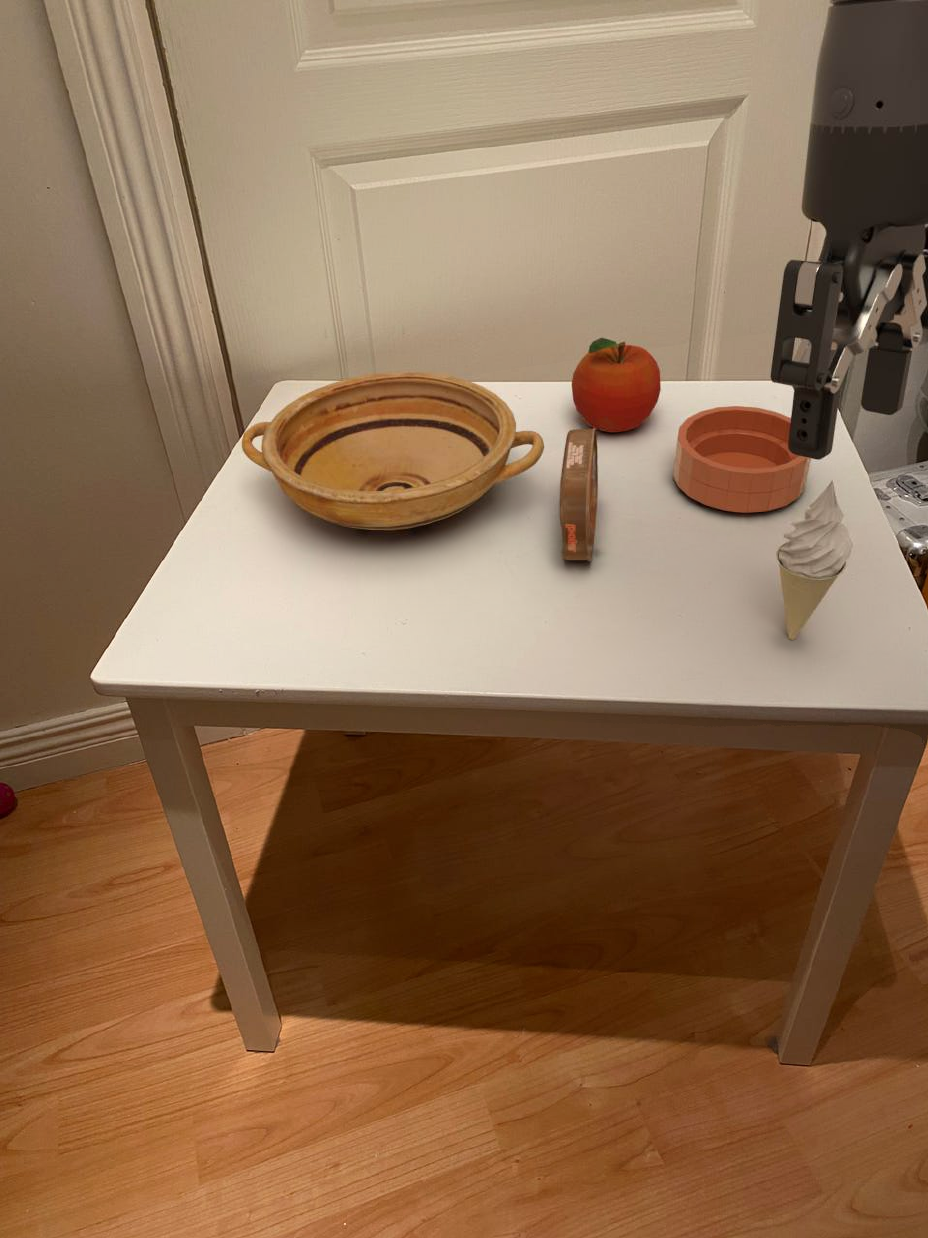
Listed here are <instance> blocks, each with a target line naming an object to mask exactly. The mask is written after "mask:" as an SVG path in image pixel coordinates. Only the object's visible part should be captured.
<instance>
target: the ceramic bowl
mask: <svg viewBox="0 0 928 1238" xmlns="http://www.w3.org/2000/svg"><path fill="white" fill-rule="evenodd" d="M261 436H262V437H261ZM258 437H261V445H260V446H261V447H260V449H261V451H260V450H259V449H258V448H256V447H255V446H254V444H253V441H254V439H255V438H258ZM523 445H524V446H525V445H530V446H531V449H530V450H529V452H527V454H525V455H524V456H523V457H521V458H520V459H518V460H515V461H514V462H511V463H508V464H507V462H508V459H509V456H510V453H511V450H513V449H515V448H517V447H520V446H523ZM241 449H242V452H243V453H244V455H245V456H246V458H247V459H249V460H250V461H251V462H252V463H254V464H256V465H258V466H259V467H261V468H263V469H264V470H266V471H269V472H270V473H272V475H273V476H274V478H275V480H276V482H277V483H278V485H279V486H280V488H281V490H282V491H283V492H284V493H285V494H286V496H287V497H288V498H289V499H291V500H292V501H293V502H294V503H295V504H296V505H297V506H298V507H300V508H301V509H303V510H304V511H306V512H308V513H310V514H312V515H313V516H315V517H317V518H319V519H321V520H324V521H326V522H329V523H332V524H335V525H339V526H342V527H346V528H351V529H358V530H359V529H360V530H370V531H400V530H409V529H414V528H417V527H419V526H425V525H429V524H431V523H434V522H438V521H440V520H444V519H447V518H449V517H451V516H454V515H456V514H457V513H460V512H462V511H463V510H466V509H467V508H468V507H470V506H471V505H473V504H475V502H477V501H478V500H479V499H481V498H482V496H484V495H485V494H486V493H487V492H489V491H490V489H491V488H492V487H493V486H494V485H495V484H498V483H502V482H504V481H506V480H509V479H511V478H513V477H516V476H518V475H520V474H522V473H524V472H526V471H527V470H529V469H531V468H532V467H534V466H535V465H536V464H537V463H538V461H539V460H540V458H541V457H542V455H543V453H544V450H545V442H544V439H543V437H542V436H541V435H540V433H538V432H537V431H533V430H521V431H517V422H516V419H515V414H514V413H513V411H512V410H511V408H510V407H509V406H508V404H507V403H506V402H505V401H504V400H503V399H502V398H501V397H499V396H498V395H497V394H496V393H495V392H493V391H491V390H489V389H488V388H486V387H484V386H483V385H480V384H477V383H475V382H473V381H471V380H466V379H463V378H461V377H460V378H459V377H456V376H451V375H446V374H440V373H435V372H434V373H433V372H421V371H420V372H419V371H393V372H392V371H391V372H382V373H381V372H380V373H372V374H367V375H361V376H355V377H351V378H347V379H343V380H339V381H335V382H332V383H329V384H326V385H324V386H321V387H318V388H316V389H314V390H312V391H310V392H308V393H305V394H303V395H301V396H300V397H298V398H296V399H295V400H293V401H292V402H290V403H288V404H287V405H286V406H284V408H282V409H281V410H280V411H279V412H278V413H277V414H275V416H274V417H273V418H272V419H271V421H262V422H261V421H260V422H258V423H255V424H253V425H252V426H250V427H249V428H248V429H246V430H245V432H244V433H243V435H242V439H241Z"/></svg>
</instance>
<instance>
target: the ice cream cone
mask: <svg viewBox="0 0 928 1238" xmlns="http://www.w3.org/2000/svg"><path fill="white" fill-rule="evenodd" d="M808 507H809V508H807V510H805V511H804V520H800V521H792V522H790V525H791V526H792V527H794V528H795V529H794V530H793V531H792V532H784V533H783V534H782V535H783V538H785V539H786V540H788V541H786V542H784V543H783V544H781V545H780V546H779V547H778V549H777V550H776V555H775V556H776V561H777V563H778V567H779V576H780V585H781V593H782V599H783V600H782V601H783V607H784V614H785V623H786V631H787V637H788V640H792V641H794V640H795V639H796V638H797V636H798V635H799V633H800V632H801V631H802V629H803V628H804V626H805V625H806V624H807V621H809V619H810V618H811V616H812V615H813V613H814V612H815V610H816V609H817V608H818V606H819V605H820V603H821V602H822V600H823V598H824V597H825V595H826V594H827V592H829V590H830V588H831V587H832V586H833V584H834V583H835V581H836V580H837V578H838V577H839V576H840V575H841V574H842V573H844V571H845V570H846V567H847V560H848V559H849V558H850V556H851V552H852V549H853V545H854V543H853V541H852V538H851V533H850V532H849V529H848V527H847V526H845V524H843V523H842V521H843V520H844V519H843V518H844V515H845V514H844V513H843V511H842V509H841V507H840V505H839V503H838V498H837V495H836V489H835V484H834V480H833V479H832V480H830V482H829V484H828V485H827V486H826V487H825V489H824V490H823V491H822V492H821V493H820V494H819V496H817V498H816V499H815V500H814V501H813V502H811V503H810V504H809V505H808Z"/></svg>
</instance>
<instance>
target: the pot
mask: <svg viewBox="0 0 928 1238" xmlns="http://www.w3.org/2000/svg"><path fill="white" fill-rule="evenodd" d="M790 423H791V417H790V416H788V415H787V416H786V415H785V414H782V413H780V412H777V411H773V410H769V409H765V408H760V407H755V406H754V407H753V406H741V405H740V406H739V405H732V406H718V407H714V408H713V407H712V408H709V409H705V410H701V411H699V412H697V413H694V414H693V415H691V416H689V417H687V418H686V419H685V420H684V421H683V422H682V424H681V425H680V426H679V428H678V433H677V439H676V447H675V458H674V465H673V473H672V474H673V475H672V476H673V478H674V480H675V483H676V485H677V487H678V488H679V489H680V490H681V491H682V492H683V493H684V494H685V495H687V496H688V497H689V498H691V499H693V500H695V501H697V502H699V503H700V504H702V505H705V506H707V507H711V508H713V509H716V510H717V509H718V510H722V511H725V512H730V513H743V514H747V513H759V512H760V513H762V512H769V511H770V512H771V511H773V510H778V509H780V508H784V507H786V506H788V505H790V504H792V503H793V502H794V501H796V500H798V499H799V498H800V496H801V495H802V493H803V492H804V491H805V488H806V483H807V480H808V475H809V471H810V465H811V462H812V458H808V457H803V456H799V455H795V454H793V453H791V452H790V450H789V448H788V440H789V431H790Z"/></svg>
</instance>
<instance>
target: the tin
mask: <svg viewBox="0 0 928 1238" xmlns="http://www.w3.org/2000/svg"><path fill="white" fill-rule="evenodd" d="M563 451H564V452H563V457H562V466H561V473H560V483H559V498H558V499H559V503H558V505H559V508H558V509H559V512H558V513H559V523H560V528H561V537H562V538H561V539H562V549H561V556H562V558H563V559H564V560H567V561H588V562H592V561H593V554H594V546H595V537H596V536H595V533H596V523H597V515H598V514H597V513H598V495H599V476H598V475H599V470H598V469H599V468H598V467H599V465H598V459H599V457H598V434H597V429H596V428H594V427H592V428H579V429H578V428H577V429H571V430H570V429H569V431H568V432H567V435H566V439H565V444H564V450H563Z"/></svg>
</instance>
